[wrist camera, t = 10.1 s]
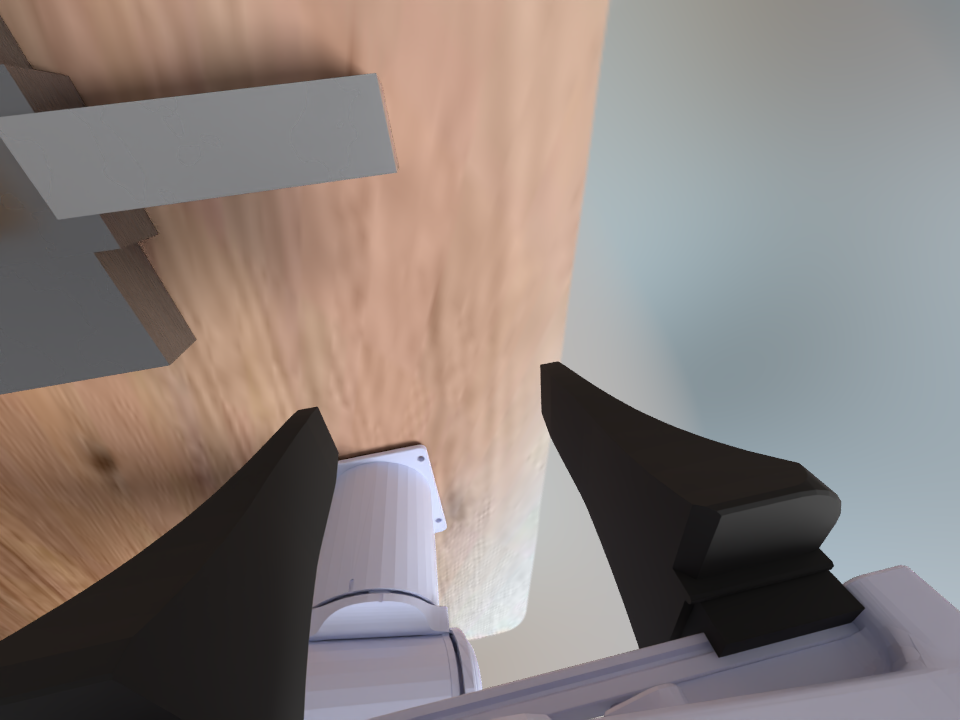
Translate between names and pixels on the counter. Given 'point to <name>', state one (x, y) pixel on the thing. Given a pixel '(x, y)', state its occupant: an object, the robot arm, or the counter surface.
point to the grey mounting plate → (142, 202)
